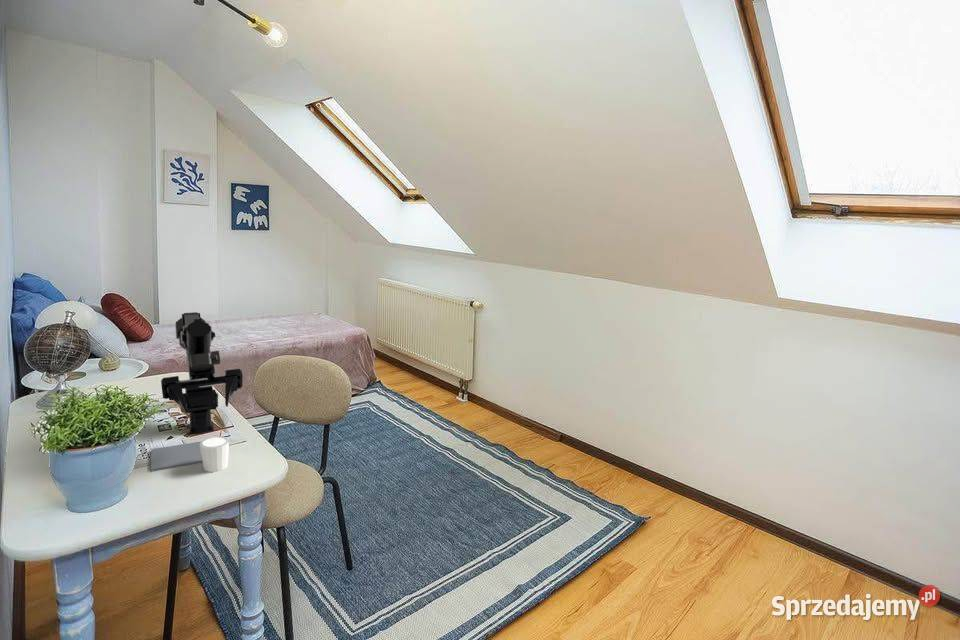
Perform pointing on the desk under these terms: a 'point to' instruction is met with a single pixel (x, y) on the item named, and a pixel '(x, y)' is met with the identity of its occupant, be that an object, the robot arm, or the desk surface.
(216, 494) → the desk surface
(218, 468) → the white faceted cylinder
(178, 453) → the coaster mat
